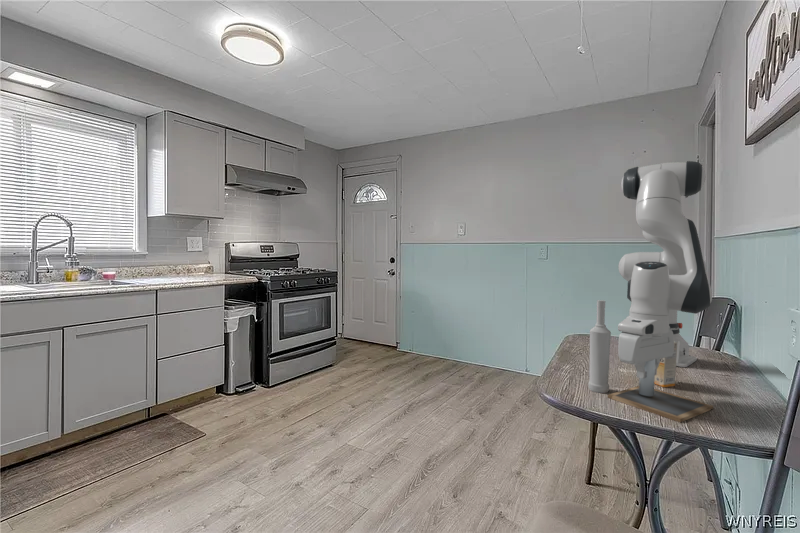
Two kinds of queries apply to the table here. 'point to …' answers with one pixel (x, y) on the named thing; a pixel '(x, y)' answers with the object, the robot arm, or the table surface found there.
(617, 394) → the slate board
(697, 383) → the table surface
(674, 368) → the supplement box
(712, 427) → the table surface
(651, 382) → the chalk
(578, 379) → the table surface
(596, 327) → the bottle
